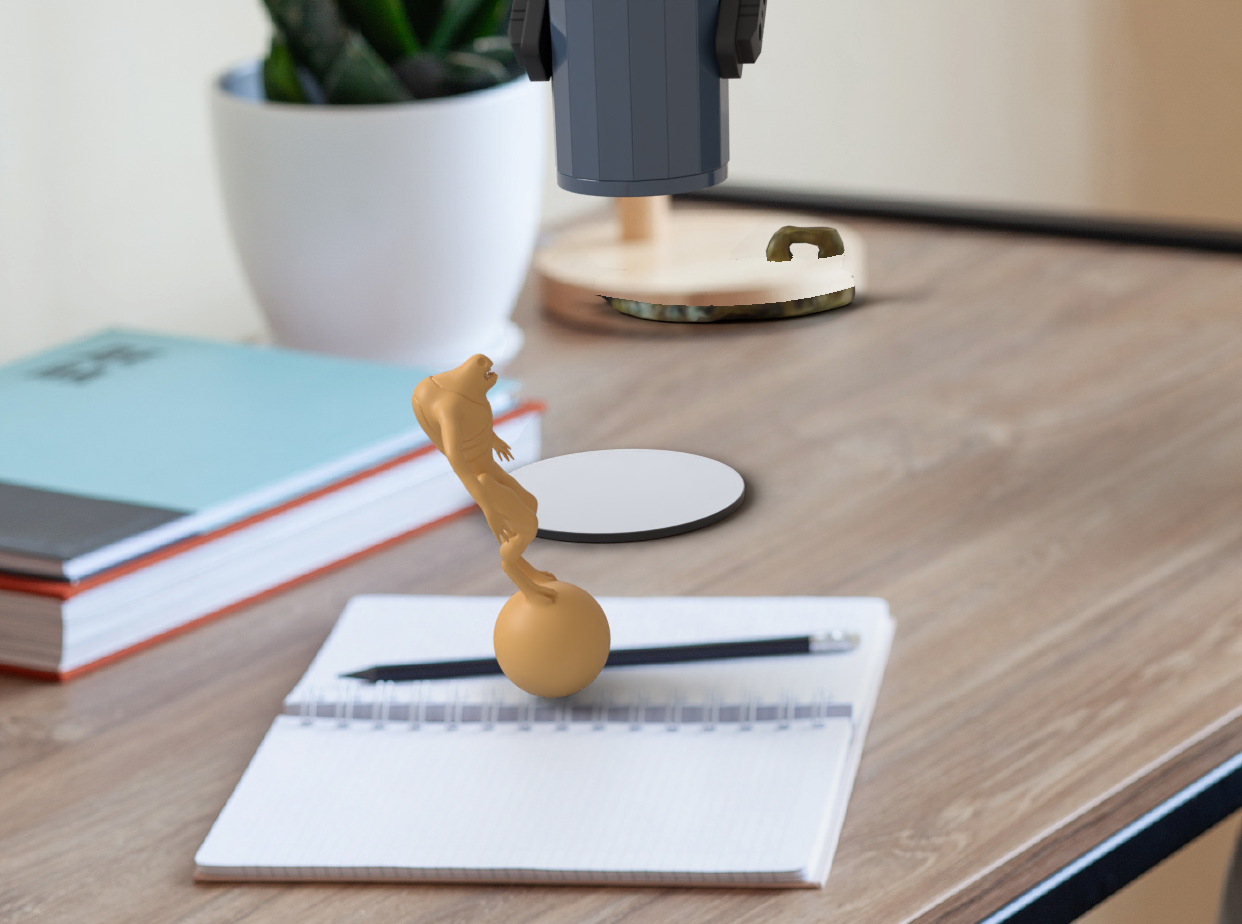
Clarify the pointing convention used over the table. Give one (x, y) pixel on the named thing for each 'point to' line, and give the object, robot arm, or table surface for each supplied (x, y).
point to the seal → (777, 252)
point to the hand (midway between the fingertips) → (630, 66)
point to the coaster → (629, 494)
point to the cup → (637, 97)
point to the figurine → (513, 542)
